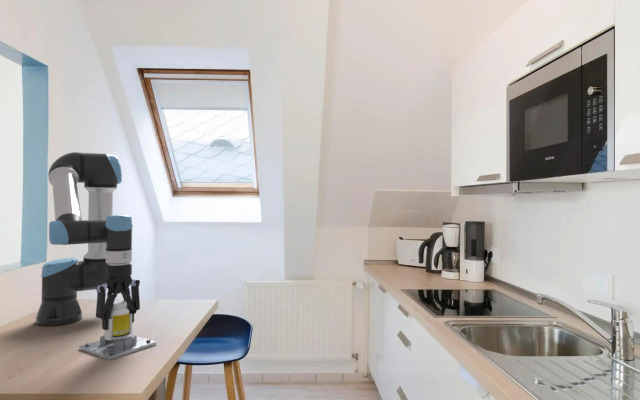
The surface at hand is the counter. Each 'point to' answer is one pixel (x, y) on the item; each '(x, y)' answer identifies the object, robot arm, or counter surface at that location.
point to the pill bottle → (120, 320)
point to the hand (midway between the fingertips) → (118, 336)
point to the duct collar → (117, 346)
